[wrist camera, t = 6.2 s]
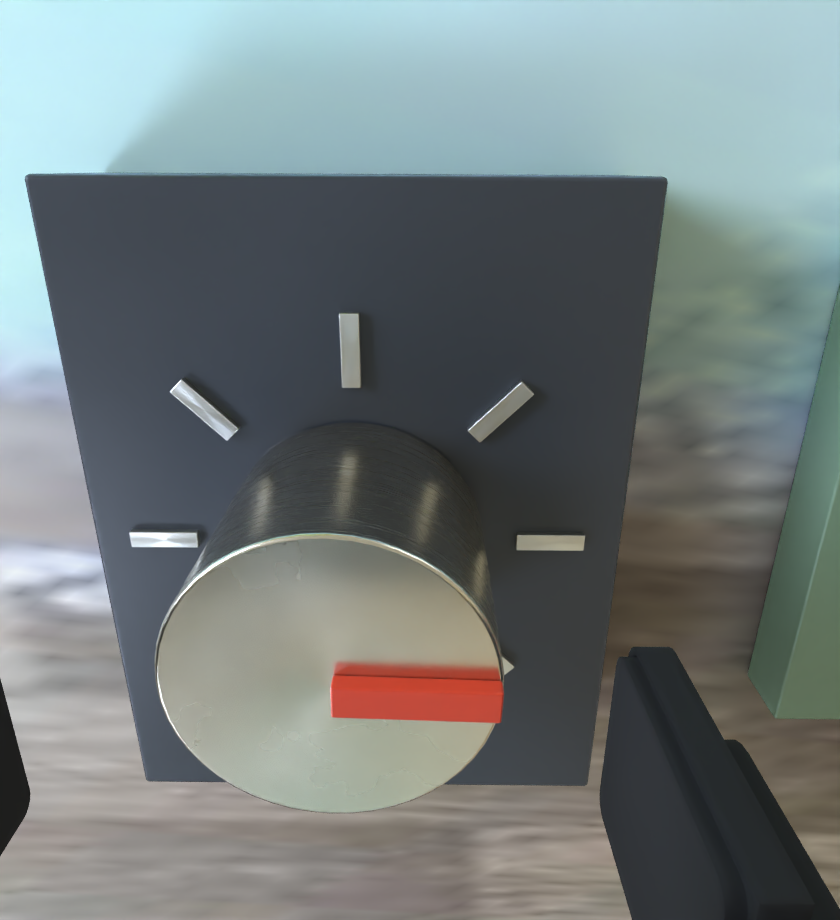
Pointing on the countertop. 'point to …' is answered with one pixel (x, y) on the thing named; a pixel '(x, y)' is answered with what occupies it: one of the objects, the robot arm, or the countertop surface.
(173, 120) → the countertop surface
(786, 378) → the countertop surface
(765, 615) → the button block
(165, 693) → the dial
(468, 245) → the dial panel
